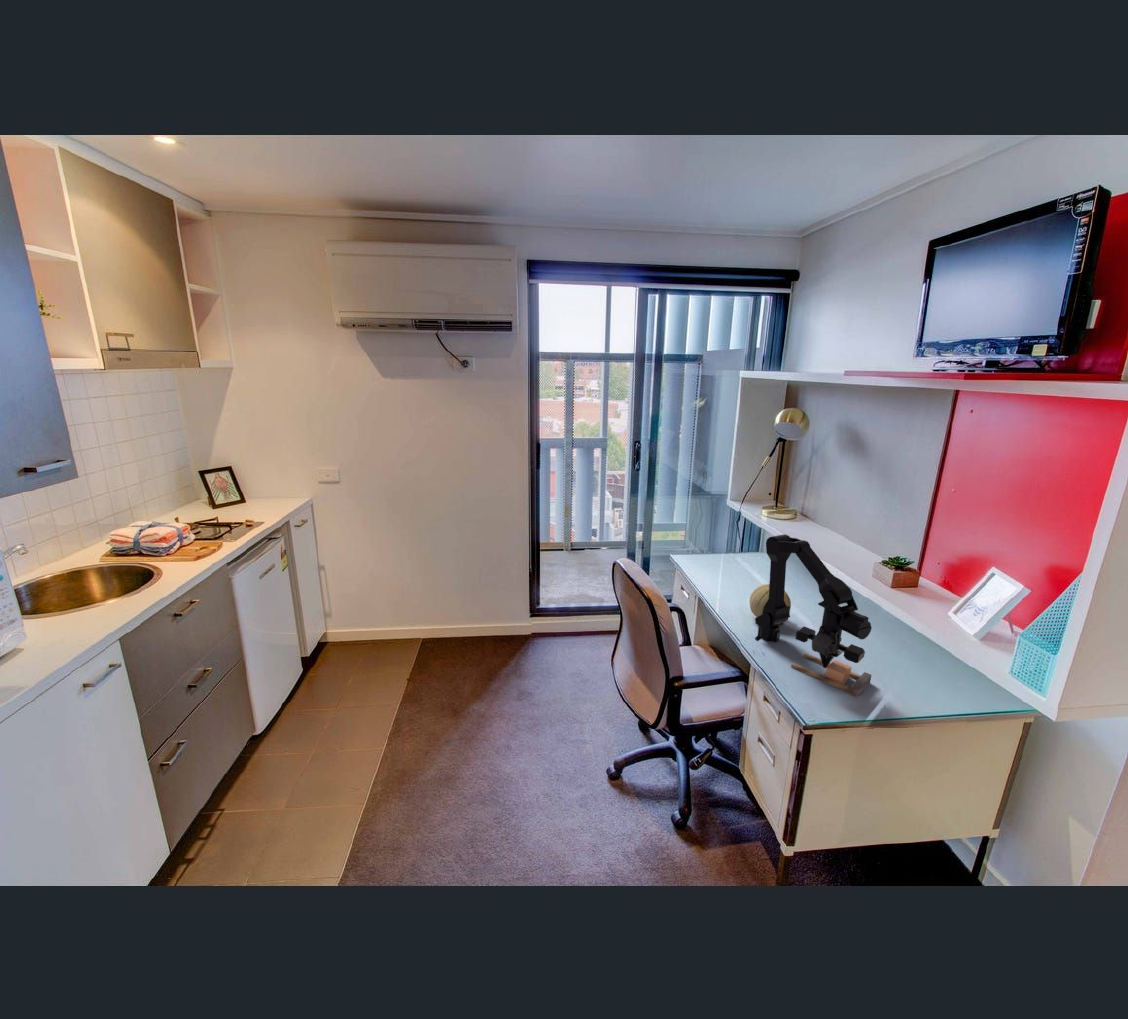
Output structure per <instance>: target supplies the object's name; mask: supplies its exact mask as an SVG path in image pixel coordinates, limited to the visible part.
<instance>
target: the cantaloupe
mask: <svg viewBox="0 0 1128 1019" xmlns="http://www.w3.org/2000/svg"><path fill="white" fill-rule="evenodd" d="M768 599H769V583H764V584H760V585H759V586H757V587H756V588H755V589H753V591H752V593H751V594H750V597H749V608H750V611H751V613H752V614H753V615H754V616H755V618H756V617H758V616H760V615H762V613H763V608H764V605H765V604H766V602H767V601H768ZM784 602H785V603H786V605H787V606H790V609H791V607H792V600H791V599H790V596H789V594H788V592H786V591H784Z"/></svg>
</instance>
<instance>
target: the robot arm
mask: <svg viewBox="0 0 1128 1019" xmlns="http://www.w3.org/2000/svg"><path fill="white" fill-rule="evenodd" d="M765 547H766V548H765V550H766V554H767V556H768V557H769V560H770V564H769V565H770V566H769V567H770V570H769V583H768V584H769V599H768V601H767V602H766V604H765V605H764V608H763V613H762V615H760V616H758V617H756V616H755V619H754V620H755V624H756V625H757V626H758V630H757V635H756V636H755V637H754V639H755V640H756V641H760V640H763V641H766V642H772V643H778V642H779V641H780V638H781V630H780V629H781V626H783V625H784V624H785V623H786V622H788V620H789V618H791V616H790V612H791V608H790V606H787V605H786V603H785V602H784V591H785V587H786V572H787V561H788V560H789V558H790V556H791V555H792V554H795V555H796V557H797V558H798V560H799V561H800V562H801V563H802V564H803V567H805V568H806V570H807V571H808V572H809V574H810V575H811V577H812V578H813V579H814V580H815V582H816V583H817V585H818V592H819V593H820V595H821V597H822V599H823V600H822V601H820V602H818V606H820V607H822V608H823V614H822V622H821V625H820V626H819V630H818V631H817V633H816V630H815V629H812V628H809V627H807V626H803V627H801V628H799V629H798V630H797V631H796V632H795V640H796V641H798V642H799V641H800V642H802V643H806V642H808V641H809V640H810V641H811V649H812V651H813V652H815V653H816V652H817V653H818V654H819V657H820V659H821V661H822V665H821V666H822V668H823V669H827V666H828V665H829V664H830V663H832V662H833V661H832V660H833V659H835V658H838V657H839V656H840V655H842V653H843V657H844V658H845V660H847V661H850V662H852V663H855V664H858V663H860V661H862V659H863V658H864V657H865V654H866V652H865V649H864V648H863V647H859V646H857V645H854V644H853V643H851V644H850V645H849V646H846V645H845V644H842V643H841V642H842V640H843V639H842V633H843V632H845V633H848V634H850V635H851V636H852V637H853V636H854V637H856V638H857V639H859V640H865V639H867V637H869V635H870V634H871V631H872V630H873V629H872V624H871V621H869V618H870V617H868V616H866V615H863V614H860V613H859V612H857V611H858V610H859V608H858V605H857V603H856V601H855V599H854V596H853V590H852V589H851V588H850V587H849V585H848V584H846V583H845V582H844V581H843V580H842V579H840V578H837V577H836V576H835V575H833V574H832V572H831V571H830V570H829V569H828V567H827V566H826V564H824V562H823V561H822V560H821V559H820V557H819V556H818V555H817V554H816V552H815V551H814V550H813V549H812V547H811V544H810V542H809V541H807V540H803V539H800V538H797V537H791V536H790V535H788V534H778V535H772V536H769V537H768V538H767V539H766V542H765ZM785 592H786V591H785ZM843 604H846V605H843ZM841 605H843V606H841Z"/></svg>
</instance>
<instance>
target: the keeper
mask: <svg viewBox="0 0 1128 1019" xmlns="http://www.w3.org/2000/svg"><path fill="white" fill-rule="evenodd" d="M830 663H831V664H830V665H829V666H828V667H827V668H825V669H826V671H825V674H824V676H825V677H827V678H830V679H832V680H834V681H837V682H839V683H841V684H843V685H845V683H846V682H847V681H848V680H849V679H850V678H851V677H850V673H851V672H852V666H850V665H848V664H845V663H843V662H841V661H838V660H837V659H834V660H833V661H831V662H830Z"/></svg>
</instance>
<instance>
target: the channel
mask: <svg viewBox="0 0 1128 1019" xmlns="http://www.w3.org/2000/svg"><path fill="white" fill-rule="evenodd" d="M802 657H803V658H804V659H807V660H809V661H812V662H814V663H816V664H819V665H821V666H823V665H822V661H821V658H818V657H816V656H814V655H811V654H809V653H807V652H804V653H803V654H802ZM831 663H832V662H830V664H831ZM830 664H829V665H830ZM829 665H828V666H829ZM828 666H827V667H828ZM790 667H791V669H792V668H793V669H795V670H796V671H798V672H802V673H803V674H806V675H808V676H809V677H813V678H815V679H817V680H819V681H822V682H824V683H826V684H829V685H830V686H833V687H834V688H835V687H836V688H837V689H839V690H842V691H844V692H847V693H849V694H851V695H853V696H856V697H859V696H860V695H861V694H862V693H863V691H865V690H866V688H867V687H868V686H870V684H871V680H872V674H871V673H868V672H865V671H864V672H862V674H861V675H859V674H857V673H855V672H852V671H851V673H850V678H852V679H854V680H856V681H855V682H854V683H852V685H851V687H850V686H847V685H845V684H841V683H839V682H837V681H834V680H832V679H830V678H827V677H825V675H822V674H820V673H819V672H816V671H814V670H811V669H809V668H806V667H804V666H802V665H800V664H797V663H796V662H791V664H790Z"/></svg>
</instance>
